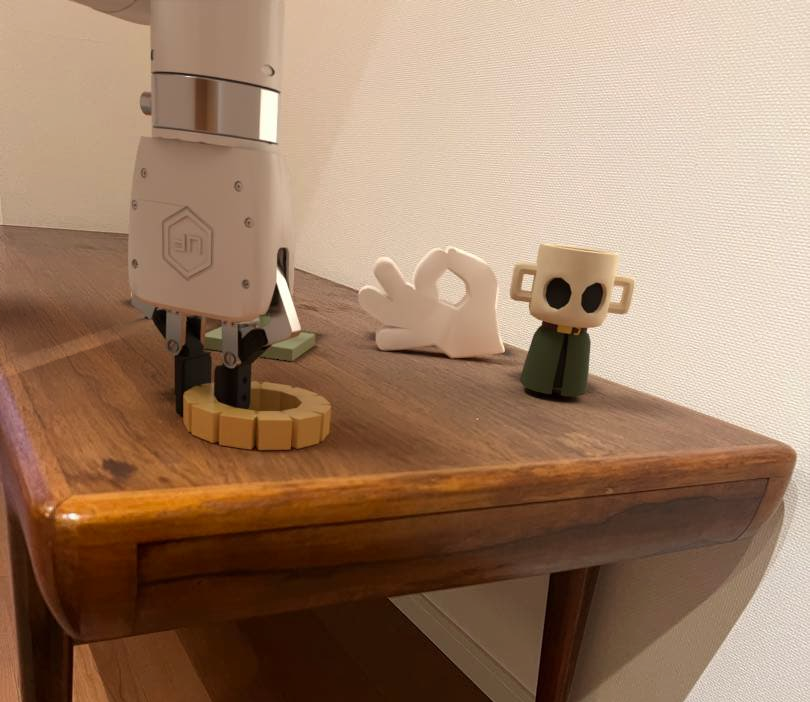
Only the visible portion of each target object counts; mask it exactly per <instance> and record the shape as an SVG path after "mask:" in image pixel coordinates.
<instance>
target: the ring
mask: <svg viewBox="0 0 810 702" xmlns="http://www.w3.org/2000/svg"><path fill="white" fill-rule="evenodd" d="M331 405H332V404H331V402H329V401H328V400H327V399H326V398H325V396H323V395H319V393H317V392H313V391H310V390H308V389H305V388H301V387H298V386H297V387H293V386H292V385H289V384H282V383H274V382H268V381H263V382H262V383H259V381H256V380H255V381H254V380H251V397H250V406H249V409H248V410H247V409H241V408H234V407H231V406H228V405H226V404H223V403H220V402H218V400H217V399H216V397H215V396H214V382H211V383H207V384H201V385H200V386H194V387H193V388H191V389H189V390H188V391H186V392H184V395H183V415H182V419H183V424H184V427H185V429H186V430H187V433H191V435H192V436H194V437H197V438H199V439H202V440H204V441H207V442H209V443H211V444H215V443H216V444H217V443H218V445H219V446H224V447H231V448H236V449H243V450H251V451H252V449H254V447H256V449H257V450H258V451H291V449H292V448H294V449H295V450H298V449H302V448H307V447H310V446H315V445H319V444H320V443H321V442H322V443H323V441H324V440H325V439H326V438H327V437H328V436H329V434H330V427H331V426H330V425H331V414H332V413H331V412H332V406H331Z"/></svg>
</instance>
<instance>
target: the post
mask: <svg viewBox="0 0 810 702" xmlns="http://www.w3.org/2000/svg"><path fill="white" fill-rule="evenodd" d="M269 322H270V317H267V316H260V327H263V326H265V325H267V324H269ZM315 344H316V334H315V333H311V332H303V331H301V333H300V334H299V336H297V337H294V338H291V339H288V340H285V341H282V342H279V343H275V344H273V345H272V346H271V347H269V348H268V349H267V350H266V351H265V352H264V353H263V354H262V355H261V356H260V358H264V357H265V359H270V360H271V359H272V360H277V359H279V361H284V360H286V361H285V362H291V361H292V362H294V361H296V359H298V358H299V357H300V356H302V355H303V354H305V353H306V352H308V351H309V350H311V349H312V348H313V347H315ZM209 349H210V350H209ZM204 350H209V351H216V350H217V351H216V352H222V326H220V327H218V328H215V329H212V330H210V331H208V332H205V345H204Z"/></svg>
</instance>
